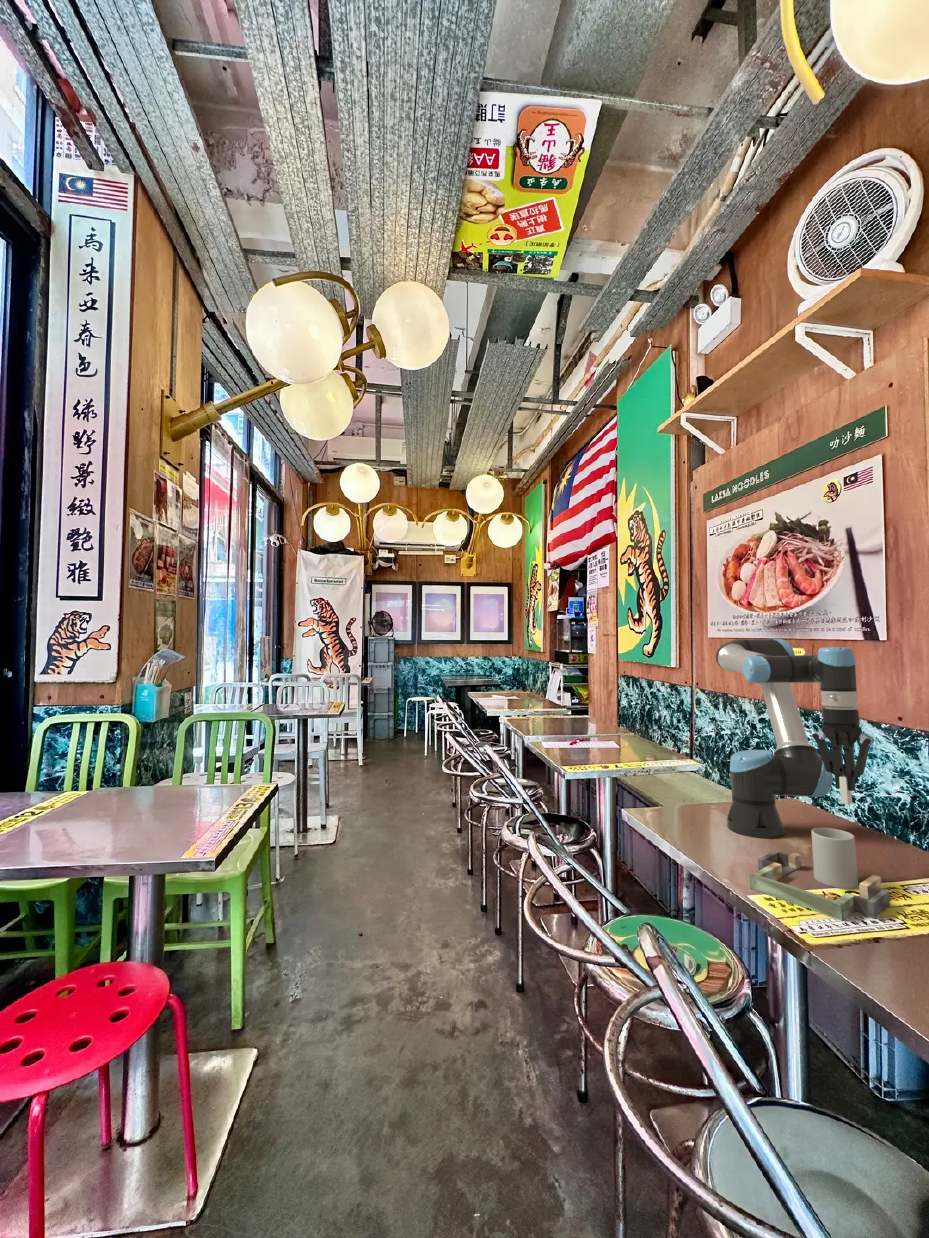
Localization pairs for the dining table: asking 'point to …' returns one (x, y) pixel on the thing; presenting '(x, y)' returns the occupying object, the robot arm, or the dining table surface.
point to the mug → (834, 858)
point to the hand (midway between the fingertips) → (846, 802)
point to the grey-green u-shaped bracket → (782, 864)
